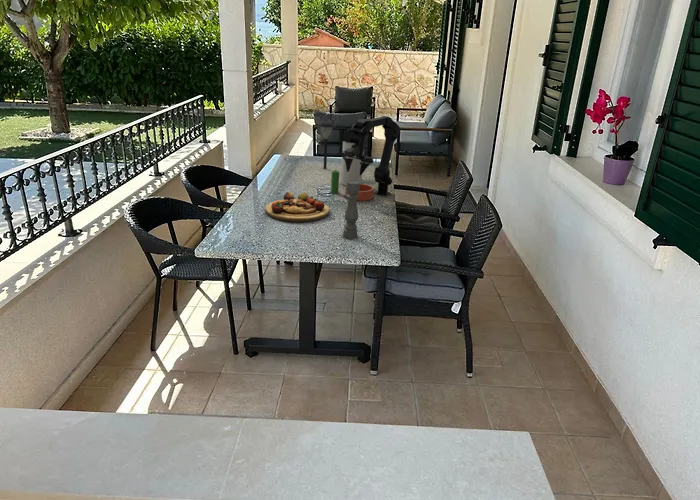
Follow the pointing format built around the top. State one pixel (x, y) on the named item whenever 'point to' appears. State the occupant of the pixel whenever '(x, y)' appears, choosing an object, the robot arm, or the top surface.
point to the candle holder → (351, 210)
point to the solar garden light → (326, 130)
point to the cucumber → (335, 182)
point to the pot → (363, 192)
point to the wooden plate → (297, 208)
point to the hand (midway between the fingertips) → (354, 173)
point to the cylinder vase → (354, 169)
